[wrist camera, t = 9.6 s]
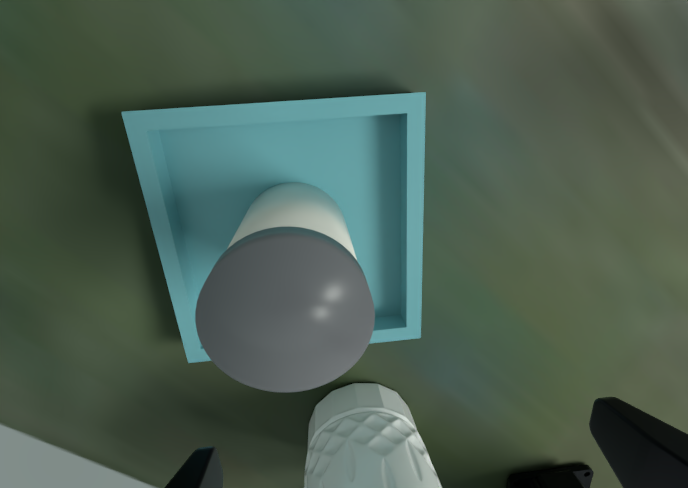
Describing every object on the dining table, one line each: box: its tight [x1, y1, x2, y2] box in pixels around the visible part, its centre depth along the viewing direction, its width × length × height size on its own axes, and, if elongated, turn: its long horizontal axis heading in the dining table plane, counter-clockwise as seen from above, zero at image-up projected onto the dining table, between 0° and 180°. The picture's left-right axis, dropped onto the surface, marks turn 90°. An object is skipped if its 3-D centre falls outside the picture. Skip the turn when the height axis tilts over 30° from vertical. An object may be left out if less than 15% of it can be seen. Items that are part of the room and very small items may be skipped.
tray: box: [121, 92, 426, 363], centre depth 18 cm, size 13×13×2 cm
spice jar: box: [195, 182, 375, 393], centre depth 15 cm, size 5×5×8 cm
